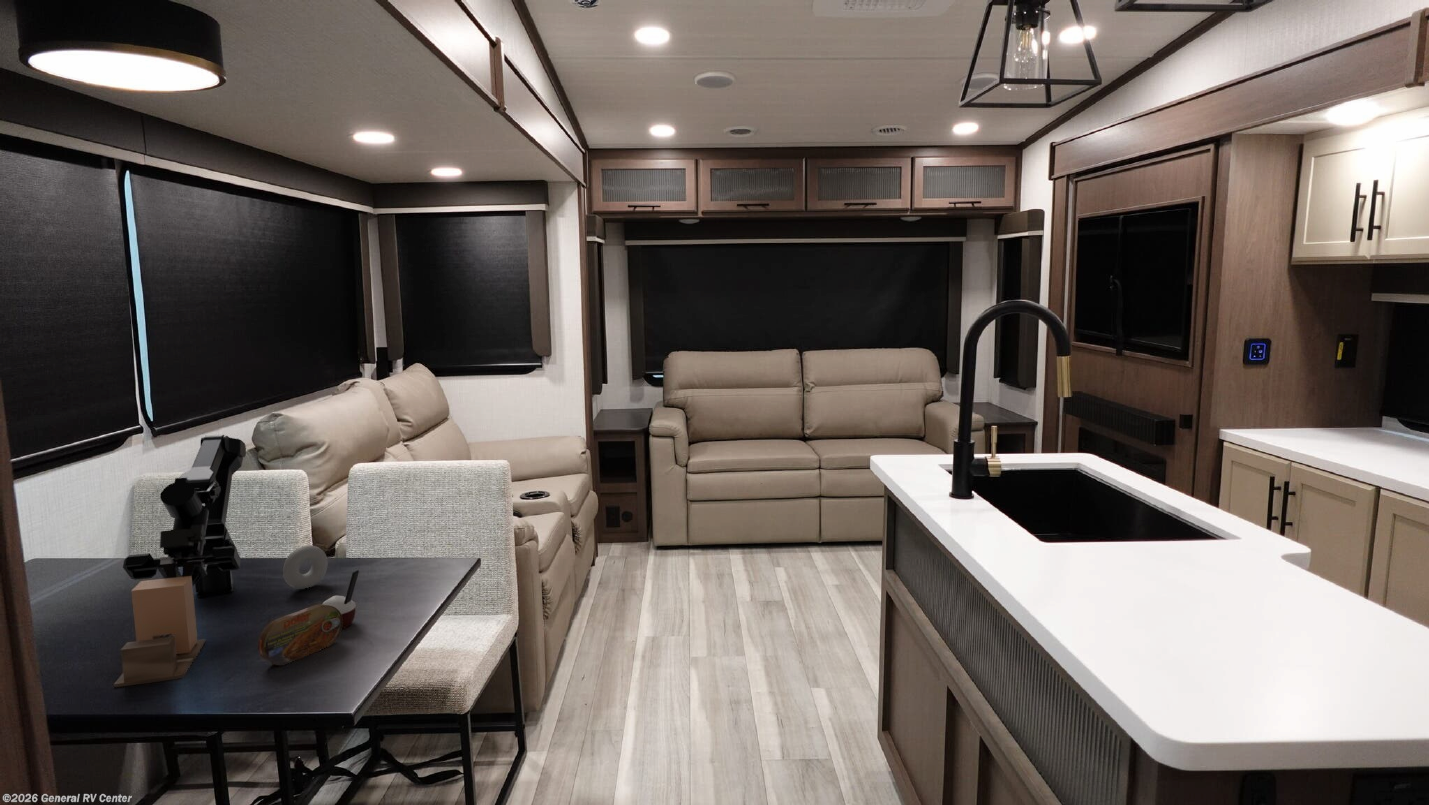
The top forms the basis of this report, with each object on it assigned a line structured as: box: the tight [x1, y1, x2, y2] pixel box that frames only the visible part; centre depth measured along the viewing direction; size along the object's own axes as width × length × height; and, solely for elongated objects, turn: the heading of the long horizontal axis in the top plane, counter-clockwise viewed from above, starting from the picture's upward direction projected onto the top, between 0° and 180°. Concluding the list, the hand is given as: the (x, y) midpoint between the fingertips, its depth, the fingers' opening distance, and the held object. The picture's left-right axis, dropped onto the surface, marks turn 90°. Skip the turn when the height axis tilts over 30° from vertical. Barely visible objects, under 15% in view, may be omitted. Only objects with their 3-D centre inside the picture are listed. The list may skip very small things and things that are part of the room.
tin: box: [258, 603, 343, 666], centre depth 144 cm, size 15×3×8 cm, turn 148°
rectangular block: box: [130, 576, 199, 654], centre depth 143 cm, size 5×8×13 cm, turn 110°
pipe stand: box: [113, 637, 207, 688], centre depth 140 cm, size 15×10×7 cm, turn 20°
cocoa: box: [322, 569, 360, 629], centre depth 156 cm, size 10×6×12 cm, turn 54°
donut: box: [282, 544, 329, 590], centre depth 176 cm, size 10×4×10 cm, turn 147°
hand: (177, 602), depth 149 cm, fingers closed
